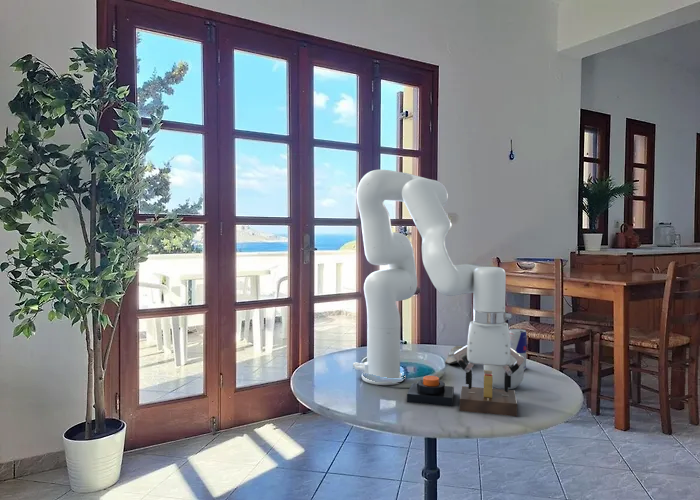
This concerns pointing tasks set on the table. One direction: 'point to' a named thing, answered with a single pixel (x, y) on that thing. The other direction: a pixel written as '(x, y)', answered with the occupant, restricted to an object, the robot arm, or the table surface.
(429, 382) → the bell button
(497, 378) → the teacup
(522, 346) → the energy drink
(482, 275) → the robot arm
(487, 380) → the lock knob
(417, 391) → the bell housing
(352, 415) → the table surface
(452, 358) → the fossilized seashell
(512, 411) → the plate
